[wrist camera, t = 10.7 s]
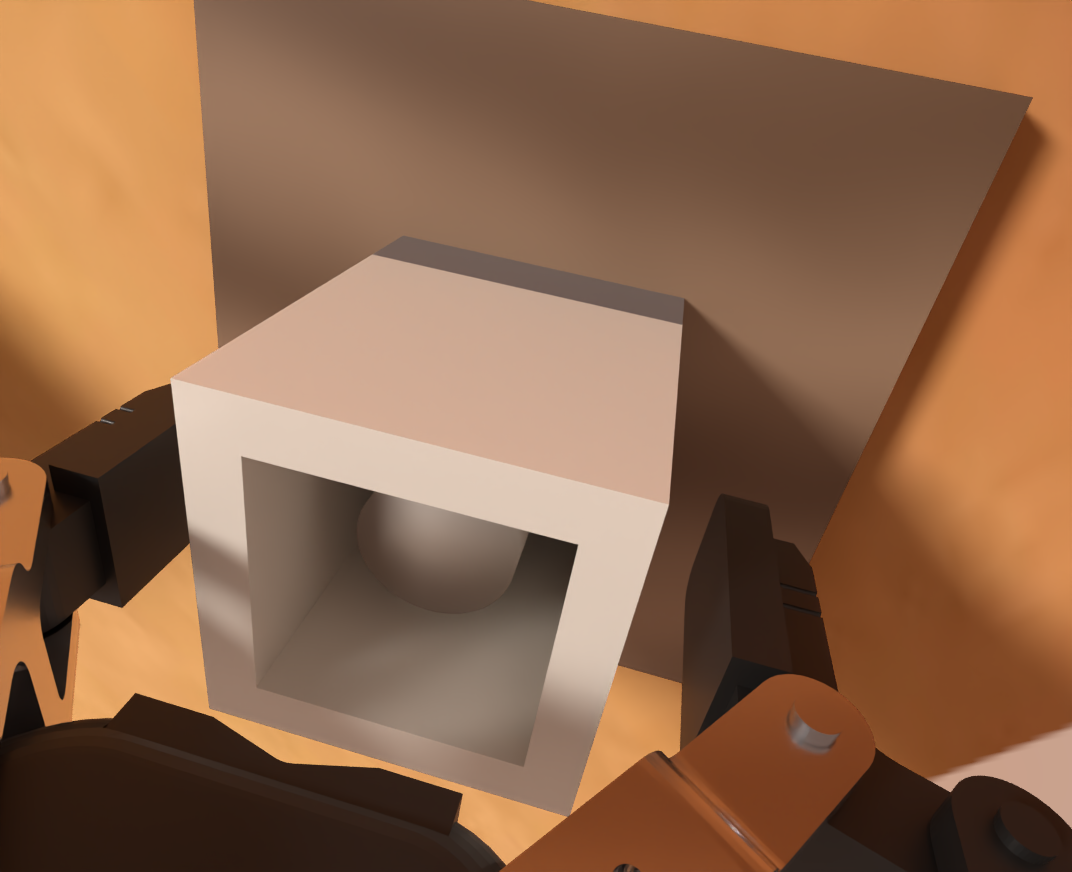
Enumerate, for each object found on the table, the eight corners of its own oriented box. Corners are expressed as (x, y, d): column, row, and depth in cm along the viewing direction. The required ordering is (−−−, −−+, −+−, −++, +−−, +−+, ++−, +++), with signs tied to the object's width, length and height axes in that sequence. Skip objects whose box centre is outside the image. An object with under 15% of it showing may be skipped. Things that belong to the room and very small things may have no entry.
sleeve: (403, 235, 14) (170, 379, 8) (684, 298, 13) (668, 504, 7) (388, 470, 17) (209, 708, 11) (619, 529, 16) (569, 817, 10)
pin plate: (223, -57, 13) (-146, -142, 7) (1008, 94, 11) (1297, 133, 6) (253, 534, 20) (78, 722, 14) (741, 670, 19) (757, 935, 13)
